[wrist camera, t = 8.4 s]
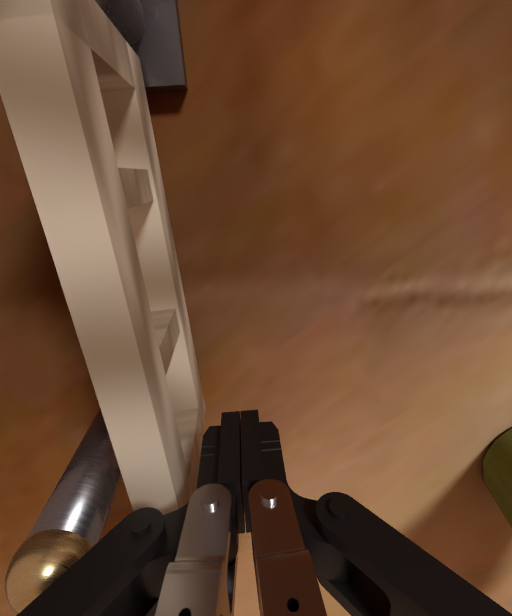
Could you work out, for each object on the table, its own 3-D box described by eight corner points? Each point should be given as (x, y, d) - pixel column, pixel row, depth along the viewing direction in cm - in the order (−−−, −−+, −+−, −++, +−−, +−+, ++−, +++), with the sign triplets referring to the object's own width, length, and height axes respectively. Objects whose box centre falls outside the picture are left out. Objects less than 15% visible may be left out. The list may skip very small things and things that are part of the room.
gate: (102, 61, 14) (-55, -79, 6) (139, 58, 14) (28, -87, 6) (179, 411, 21) (148, 558, 13) (205, 408, 21) (190, 553, 13)
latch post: (96, 353, 21) (-69, 574, 9) (165, 347, 21) (86, 556, 9) (111, 410, 22) (-17, 661, 11) (175, 403, 22) (117, 645, 11)
